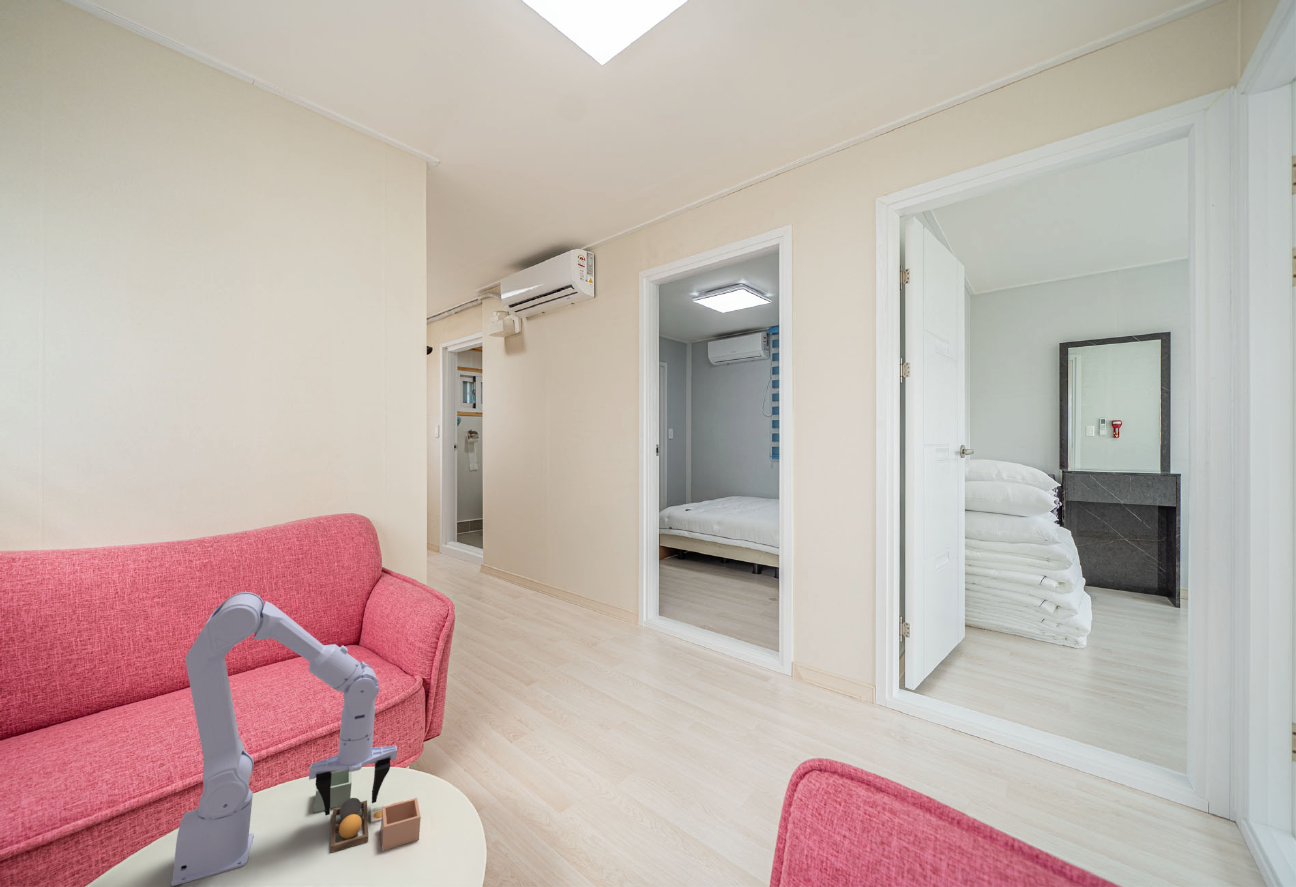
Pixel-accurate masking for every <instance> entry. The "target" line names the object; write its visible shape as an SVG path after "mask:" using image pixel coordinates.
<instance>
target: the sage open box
mask: <svg viewBox="0 0 1296 887" xmlns="http://www.w3.org/2000/svg"><path fill="white" fill-rule="evenodd" d="M352 773H353V772H349V771H348V770H341V771H337V772H332V776H331V789H330V799H331V802H330V810H332V809H335V808H339V807H341V806H342V804H343V803H344V802H345V801H346V800H348V799H350V798H351V794H352V782H353V780H352V776H353V774H352ZM323 811H325V807H324V803H323V799H322V797H321V795H320V793H319V791H318V790H317V788H315V798H314V809H313V813H314V814H315V813H318V812H323Z"/></svg>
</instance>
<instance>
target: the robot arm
mask: <svg viewBox="0 0 1296 887" xmlns="http://www.w3.org/2000/svg"><path fill="white" fill-rule="evenodd" d="M253 634H254V636H253V638H252V641H260V640H261V641H262V640H268V639H272V640H276V641H277V642H278V643H280V644H281V645H283V646H284V647H286V648H288V649H290V650H291V651H292V652H294V653H296V655H298V656H301V657H302V658H303V659H306V660H307V661H309V665H308V672H309V673H311V674H312V675H313V676H315V677H316V678H317V679H319V680H321V681H322V682H323V683H325V684H326V685H328V686H329V687H330V688H332V689H333V690H335V691H337V692H341V693H343V696H342V697H343V709H342V711H341V717H340V731H339V740H338V751H337V752H338V754H336V755H334V756H333V755H332V756H331V757H328V758H325V759H323V760H320V761H315V762H313V763H310V764H309V773H308V774H309V775H308V781H309V780H313V779H315V787H316V788H317V790H318V791H319V793H320V795H321V797H322V799H323V803H324V807H325V810H324V814H325V816H328V815H331V809H330V802H331V799H330V789H331V776H332V772H337V771H341V770H348V771H349V772H352V773H353V772H356V771H357V772H358V771H360V770H362V768H363V767H365V766H368V765H371V764H374V776H373V783H372V789H371V790H372V791H371V804H374V803H376V802H377V799H378V796H379V791H380V789H381V786H382V785H383V782H384V781H385V778H386V776H387V775H388V773H389V771H390V769H391V761H396V760H397V754H398V748H397V747H398V746H397V745H389V746H375V747H374V746H373V745H374V744H373V743H374V741H373V740H374V729H375V716H376V715H375V714H376V698H377V696H378V695H379V692H380V687H379V681H378V678H377V675H376V671H375V670H374V669H373V668H372V667H371V665H370V664H367V663H366V662H364V661H363V660H362V661H358V660H357V659H356V658H355V657H353V656H352V655H350V654H349V653H348V652H349V650H348V648H347V646H344V645H341V646H338V645H337V644H334V643H333V644H323V643H322V642H320V641H319V640H318V639H317V638H315V637H314V636H313V635H312V634H310V633H309V632H308V631H307V630H305V629H304V628H303V627H302V626H301V625H299V624H298V623H297V622H296V621H295V620H294V619H292V618H291V617H290V616H288V614H286V613H285V612H283V611H282V610H281V609H280V608H278V607H277V606H276V605H274V604H273V603H271V602H269V601H267V600H265V602H264V601H263V598H261V596H260V595H258V594H257V593H255V592H254V593H253V592H250V591H243V592H238V593H235V594H232V595H231V596H230V597H228V598H226V599H225V600H224V601H223V602H222V603H220V605H219V606H217V608H216V609H215V610H213V612H212V613H211V615H210V617H209V618H208V620H207V621H206V623H205V625H204V626H203V628H202V629H201V631H200V633H199V634H198V635H197V637H196V639H195V641H194V642H193V644H192V645H191V646H190V649H189V651H188V652H187V653H186V655H185V667H186V670H187V676H188V681H189V682H188V683H189V688H190V693H191V699H192V703H193V708H194V713H195V719H196V725H197V730H198V735H199V740H200V741H199V742H200V745H201V752H202V757H203V758H202V759H203V766H202V767H203V768H202V772H203V773H202V783H203V784H202V785H203V791H202V794H201V796H200V799H199V804H198V806H199V807H197V808H194V809H192V810H190V811H186V812H185V813H184V814H183V815H182V818H181V819H180V820H181V821H180V824H179V828H178V831H177V836H176V843H175V853H174V861H173V862H174V863H173V871H172V880H171V882H170V885H171V886H172V887H174V886H178V885H182V884H185V883H188V882H192V881H196V880H200V879H203V878H206V877H210V876H215V875H218V874H221V873H224V872H228V871H231V870H234V869H235V870H236V869H239V868H241V867H242V868H243V867H245V866H246V865H247V863H248V859H249V855H250V852H251V848H252V844H253V840H254V835H255V834H254V833H253V832H252V833H250V827H251V817H252V816H251V815H252V807H253V806H252V805H253V795H254V794H253V791H252V790H251V789H250V781H251V776H252V773H253V771H254V770H253V769H254V765H255V764H254V759H253V757H252V756H251V755H250V753H248V752H247V751H246V750H245V747H244V742H243V740H242V739H240V733H239V730H238V724H237V716H236V712H235V706H234V701H233V695H232V690H231V686H230V685H231V684H230V680H229V679H230V678H229V674H228V667H227V662H226V656H227V654H229V653H230V652H231V651H232V649H233V648H234V647H235V646H236V645H238V644H239V643H241V642H243V641H244V640H246V639H247V638H249V637H250V636H252V635H253ZM316 788H315V789H316Z"/></svg>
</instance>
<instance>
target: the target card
mask: <svg viewBox="0 0 1296 887" xmlns="http://www.w3.org/2000/svg"><path fill="white" fill-rule="evenodd" d="M403 801H405V800H404V799H403V800H399V801H395V802H391V803H387V804H385V805H380V806H376V807H373V808H370V810H369V812H370V823H371V824H373V823H377V822H381V817H382V807H384V806H388V805H392V804H395V803H399V802H403Z"/></svg>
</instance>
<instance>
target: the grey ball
mask: <svg viewBox="0 0 1296 887" xmlns="http://www.w3.org/2000/svg"><path fill="white" fill-rule="evenodd" d="M361 802H362V801H361V800H360V799H359V798H357V797H350V799H348V800H346V801H345V802H344V803H343V804H342V806H340V807H341V808H340V814H339V817H340V819H341V820H342V821H343V820H344V818H346V817H347V816H349V815H351V814H356V815H358V816H359V814H360V812H361V810H362V809H361Z"/></svg>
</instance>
